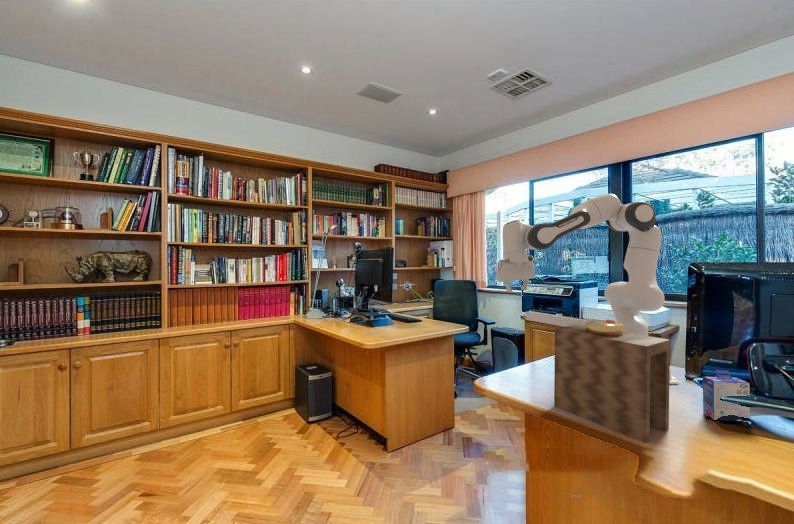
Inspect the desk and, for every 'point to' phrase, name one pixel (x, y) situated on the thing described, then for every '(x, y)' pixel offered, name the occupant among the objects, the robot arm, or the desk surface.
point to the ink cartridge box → (724, 388)
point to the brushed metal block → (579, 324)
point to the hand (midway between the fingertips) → (517, 290)
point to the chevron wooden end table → (613, 380)
